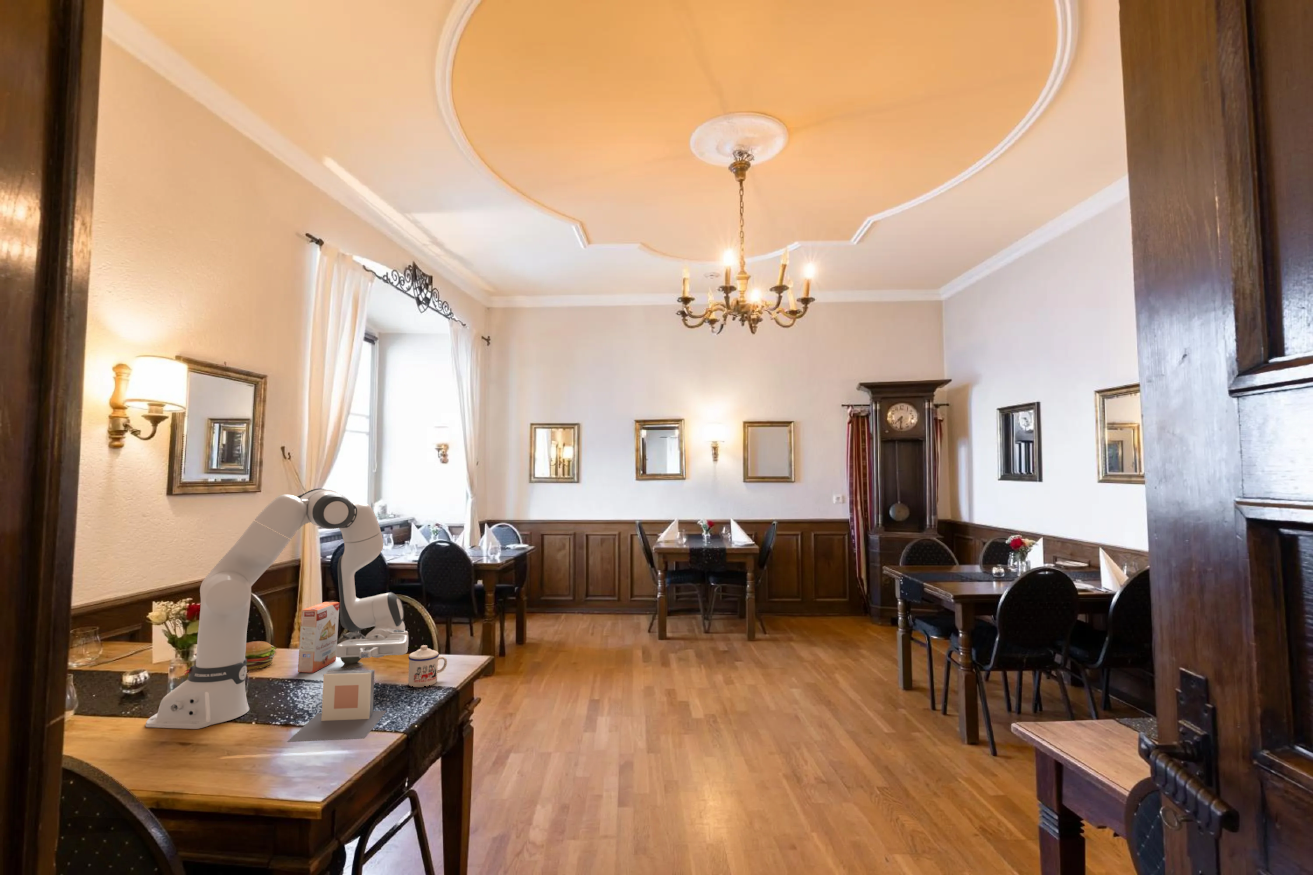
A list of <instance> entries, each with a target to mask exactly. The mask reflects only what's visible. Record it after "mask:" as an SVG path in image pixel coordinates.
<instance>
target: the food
mask: <svg viewBox="0 0 1313 875" xmlns="http://www.w3.org/2000/svg"><path fill="white" fill-rule="evenodd" d="M276 649H277V647H276V646H272V645H271V644H270V643H269V642H267V641H262V640H261V641H260V640H257V641H249V642H246V652H245V658H246V659H247V671H251V670H257V669H262V668H264V667H268V666H269V665H271V664H272V663H273V660H274V659H273V658H274V657H275V653H276Z"/></svg>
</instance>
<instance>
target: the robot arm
mask: <svg viewBox="0 0 1313 875" xmlns="http://www.w3.org/2000/svg"><path fill="white" fill-rule="evenodd" d="M309 523H311V524H313V525H315V526H317V527H321V528H323V529H327V530H335V529H339V531H340V533H341V536H342V539H343V544H344V550H343V554H342V555H340V557H339V558H338V563H337V580H338V582H337V583H338V593H339V603H340V605H339V620H340V625H341V626H342V628H344V629H345V630H347V631H349V632H357V631H359V630H364V629H367V628H371V627H374V628H373V629H372V630H371V631H369V632H368V633H367V634H366V635H365V636H364V637H365V639H351V640H346V641H343V642H341V643H339V644H338V645H336V649H335V655H336V658H340V657H359V658H361V659H369V658H375V659H376V658H377V659H378V658H382V657H385V656H402V655H405V654H407V653H408V651H409V650H408V649H409V648H408V647H409V632H408V630H406V625H405V622H404V618H405V608H404V604H403V602H402V600H401V598H400V597H399V596H398V595H396V594H395V593H394V592H392V591H390V592H386V593H380V594H376V595H372V596H367V597H362V598H359V597H357V596H356V594H357V593H356V585H355V582H356V581H355V575H356V572H358V571H359V570H360V569H362V568H364V567H365V566H367V565H368V564H370V563H372V562H373V561H374V560H376V559H377V557H378V556H379V555H380V554H381V553H382V551H383V548H384V539H383V538H384V537H383V533H382V531H381V526H380V523H379V520H378V519H377V515H376V513H375V511H374V510H373V508H372V507H371V505H370V504H369V503H367V502H363V501H355V502H351V500H350V499H349V498H347V497H346V496H344V495H343V494H339V493H338V492H336V491H334V490H331V489H325V488H313V489H310V490H308V491H306V492H304V493H302V494H300V495H298V496H297V495H293V494H289V493H288V494H287V493H286V494H281V495H278V496H276V497H275V498H274V499H273V500H272V501H271V502H270V503H268V505H267V506H266V507H264V508H263V509H262V511H261V512H260V513H259V514H258V515H257V516H256V518H254V520H253V521H252V523H250V525H249V526H248V527H247V529H246V530H245V531H244V532H243V533H242V535H241V536H240V538H238V539H237V541H236V543H234V545H233V546H232V547H231V548H230V549H229V550H228V551H227V553H225V555H224V556H222V558H221V559H220V560H219V561H218V562H217V564H216V565H214V567H213V568H212V569H211V571H210V572H209V573H208V574H207V575H206V576H205V578H204V579H203V580H202V582H201V584H200V587H199V593H200V594H199V597H200V606H199V607H200V609H199V610H200V611H199V620H198V628H197V630H198V632H197V638H196V639H197V642H196V656H195V664H193V665H191V666H190V667H189V668H188V669H186V670H184V674H183V675H185V676H187V675H188V676H187V679H186V680H185V681H183V682H182V683H180V684H179V685H178V686H177V687H175V688H173V689H172V690H171V691H170V692H169V693H167V694H166V695H165V696H163V697H162V699H161V700H160V703H159V707H158V711H157V713H155V714H154V715H152V716H150V717H149V718H148V719H147V720H146V722H145V727H146V728H159V729H161V728H163V729H187V730H188V729H191V730H199V729H202V728H205V727H208V726H212V725H216V724H220V723H224V722H227V721H231V720H234V719H237V718H239V717H241V716H243V715H245V714H247V713H248V712H249V711H250V707H249V704H248V699H247V694H246V693H247V692H246V679H247V678H246V677H247V672H248V670H247V659H246V658H245V652H246V643H247V635H248V634H247V633H248V632H247V631H248V625H249V618H250V608H251V601H252V600H251V598H252V586H253V585H254V584H255V583H256V582H257V580H258V579H259V578H260V577H261V576H262V575H263V574H264V573H266V570H268V569H269V567H271V566H272V565H273V564H274V563H275V561H276V560H277V559H278V558H279V556H280V555H281V553H282V552H283V550H285V549H286V547H287V546H288V544H289V543H290V541H291V540H292V538H294V536H295V535H296V533H297V531H298V530H299V529H301V528H302V527H303V526H304V525H307V524H309Z"/></svg>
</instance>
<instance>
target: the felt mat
mask: <svg viewBox="0 0 1313 875" xmlns="http://www.w3.org/2000/svg"><path fill="white" fill-rule="evenodd" d="M386 713H387V710H373V715H372V716H371V717H370V718H369V719H354V720H329V721H321V719H322V712H319V713H317V714H315V716H313V718H311V719H310V720H309V721H308V722H307V723H306V724H304V726H302V727H301V728H300V729H299V731H297V732H296V733H295V734H294V735H292V736H291V738H289V739H288V740H287V741H286V742H287V743H291V742H292V743H293V742H295V743H296V742H312V741H313V742H314V741H335V740H338V741H339V740H357V739H358V740H359V739H360V740H361V739H366V737H367V736H368V735H369V733H370V732H372V730H373V728H374V727H375V726H376V725H377V724H378V723H379V721H380V720H381V719H382V718H383V716H384V715H385V714H386Z"/></svg>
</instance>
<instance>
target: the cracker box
mask: <svg viewBox="0 0 1313 875" xmlns="http://www.w3.org/2000/svg"><path fill="white" fill-rule="evenodd" d="M339 620H340V601H339V602H338V601H324V602H320V603H317V604H314V605H312V606H309V607H306V608H303V609H301V618H300V632H299V634H300V635H299V648H298V662H297V664H298V665H297V673H304V674H305V673H308V674H309V673H312V674H313V673H315V672H317V671H319V670H321V669H323V668H325V667H327V666H328V665H331V664H333V663H334V662H336V661H337V657H336V655H335V649H336V645H337V642H338V631H339Z"/></svg>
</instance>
